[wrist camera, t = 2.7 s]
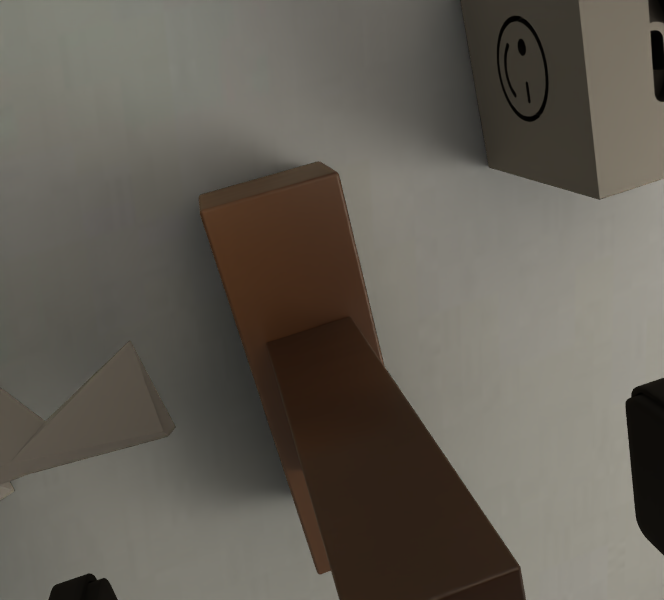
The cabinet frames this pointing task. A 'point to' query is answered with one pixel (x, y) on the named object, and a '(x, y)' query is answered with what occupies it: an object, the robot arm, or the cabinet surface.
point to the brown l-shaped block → (344, 402)
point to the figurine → (83, 421)
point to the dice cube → (571, 90)
